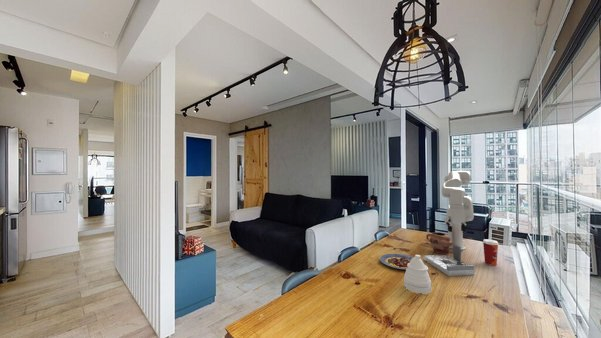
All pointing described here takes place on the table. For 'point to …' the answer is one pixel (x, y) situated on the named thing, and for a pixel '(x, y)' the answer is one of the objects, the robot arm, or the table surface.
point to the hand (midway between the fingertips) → (456, 231)
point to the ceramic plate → (396, 260)
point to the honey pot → (417, 276)
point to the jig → (449, 265)
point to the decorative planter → (440, 242)
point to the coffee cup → (490, 251)
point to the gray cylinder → (457, 252)
